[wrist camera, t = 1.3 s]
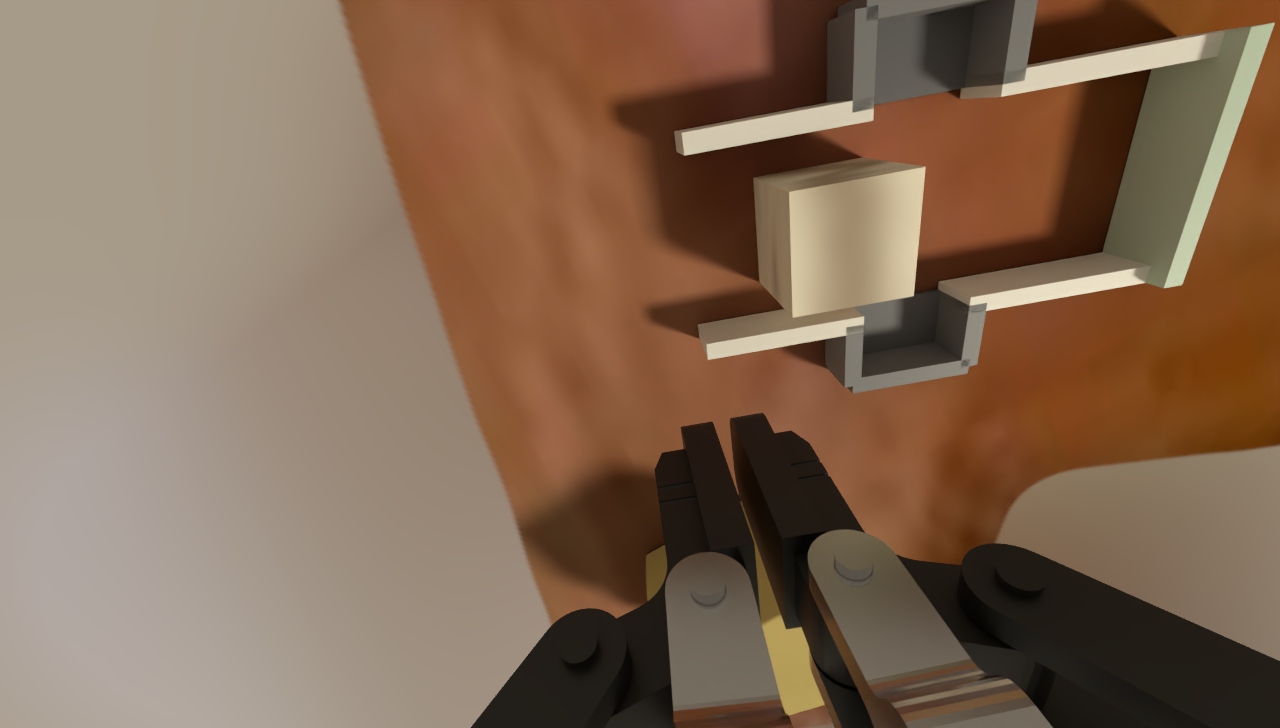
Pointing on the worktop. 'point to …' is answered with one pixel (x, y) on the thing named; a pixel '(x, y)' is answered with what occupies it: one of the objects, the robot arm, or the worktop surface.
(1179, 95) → the trap box
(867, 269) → the birch block
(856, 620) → the robot arm
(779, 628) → the cheese
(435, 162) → the worktop surface
